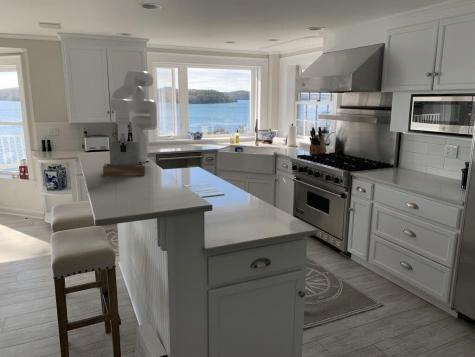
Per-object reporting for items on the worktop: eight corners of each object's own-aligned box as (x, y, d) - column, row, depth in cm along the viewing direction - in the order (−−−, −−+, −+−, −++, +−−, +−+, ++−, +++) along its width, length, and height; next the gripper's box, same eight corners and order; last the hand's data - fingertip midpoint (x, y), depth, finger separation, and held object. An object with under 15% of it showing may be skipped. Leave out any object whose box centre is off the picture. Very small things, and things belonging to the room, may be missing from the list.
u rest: (105, 172, 223) (105, 163, 222) (145, 171, 228) (144, 162, 227) (103, 176, 211) (102, 167, 210) (144, 175, 217) (144, 166, 215)
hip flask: (138, 170, 223) (137, 137, 219) (138, 171, 220) (137, 137, 215) (110, 171, 219) (109, 137, 215) (110, 172, 215) (108, 138, 211)
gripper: (117, 119, 220) (118, 148, 224) (114, 122, 204) (116, 153, 208) (130, 120, 222) (131, 148, 226) (128, 122, 206) (130, 153, 209)
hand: (124, 150), depth 217 cm, fingers open, 9 cm apart
